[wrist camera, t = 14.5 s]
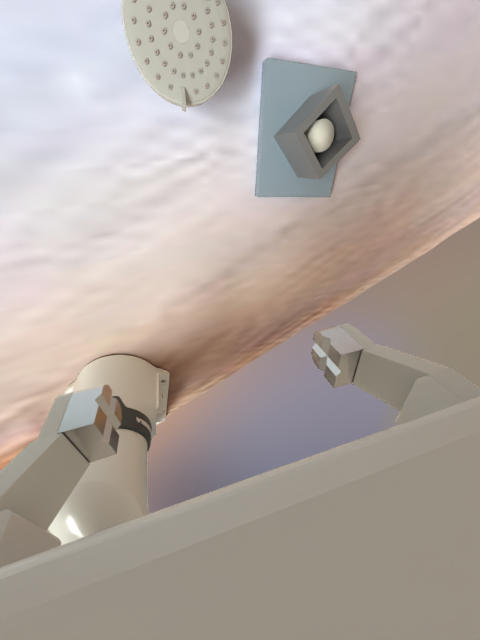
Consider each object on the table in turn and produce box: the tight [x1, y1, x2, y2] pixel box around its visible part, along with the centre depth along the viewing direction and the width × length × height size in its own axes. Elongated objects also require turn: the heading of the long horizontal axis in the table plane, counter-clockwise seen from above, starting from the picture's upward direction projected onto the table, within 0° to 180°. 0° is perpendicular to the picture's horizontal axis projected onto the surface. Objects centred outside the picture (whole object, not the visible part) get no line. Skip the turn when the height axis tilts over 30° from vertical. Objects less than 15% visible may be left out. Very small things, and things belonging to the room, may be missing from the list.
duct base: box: [255, 58, 356, 197], centre depth 31 cm, size 14×12×6 cm
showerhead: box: [122, 0, 232, 111], centre depth 23 cm, size 9×7×10 cm
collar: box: [273, 83, 360, 180], centre depth 30 cm, size 6×6×6 cm
